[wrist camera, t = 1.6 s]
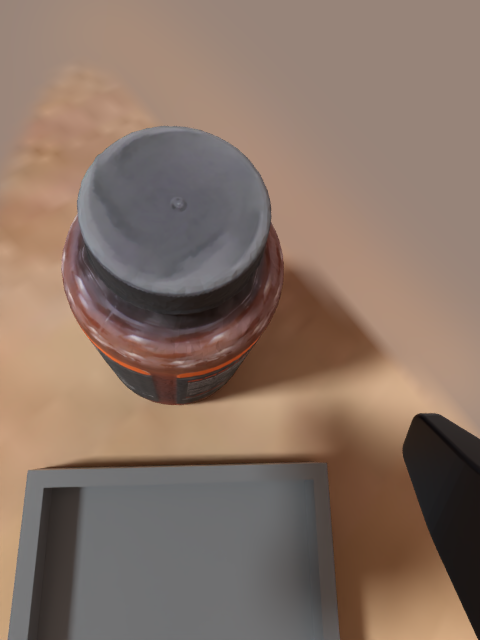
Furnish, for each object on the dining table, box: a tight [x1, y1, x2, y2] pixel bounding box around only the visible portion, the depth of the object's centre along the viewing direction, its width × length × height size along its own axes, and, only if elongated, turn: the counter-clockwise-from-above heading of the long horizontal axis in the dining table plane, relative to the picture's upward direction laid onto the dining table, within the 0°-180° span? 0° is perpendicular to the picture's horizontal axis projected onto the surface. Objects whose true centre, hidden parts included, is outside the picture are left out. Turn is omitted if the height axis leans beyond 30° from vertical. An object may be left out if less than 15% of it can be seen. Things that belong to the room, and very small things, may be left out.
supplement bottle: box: [62, 126, 284, 405], centre depth 14 cm, size 6×6×11 cm
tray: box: [8, 462, 340, 640], centre depth 15 cm, size 11×11×2 cm
